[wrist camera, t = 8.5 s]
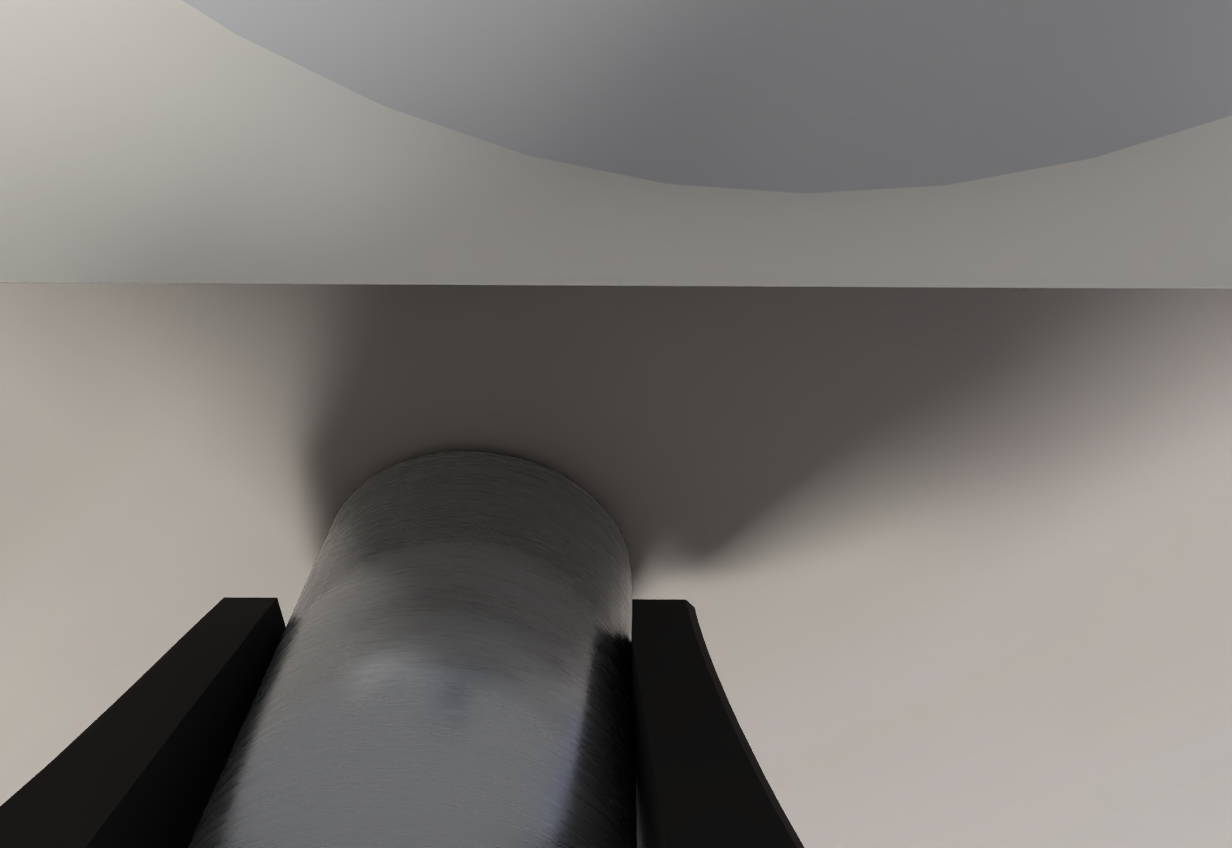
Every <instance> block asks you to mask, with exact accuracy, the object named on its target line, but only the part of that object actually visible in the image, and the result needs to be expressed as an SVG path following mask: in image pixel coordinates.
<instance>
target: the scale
mask: <svg viewBox="0 0 1232 848" xmlns="http://www.w3.org/2000/svg"><path fill="white" fill-rule="evenodd" d="M0 282H5V283H194V284H382V285H571V286H760V287H948V288H1137V289H1232V0H0Z"/></svg>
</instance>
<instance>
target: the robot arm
mask: <svg viewBox="0 0 1232 848" xmlns="http://www.w3.org/2000/svg"><path fill="white" fill-rule="evenodd" d="M285 629H286V627H285V623H284V620H283V617H282V613H281V610H280V606H279V603H278V599H277V598H223V599H222V600H221V601H220V602H219V603H218V604H217V605H216V606H215V607H214V608H213V609H211V610H210V611H209V612H208V613H207V614H206V615H205V616H204V617H203V618H202V619H201V620H200V621H199V622H198V623H197V624H196V625H195V626H193V627H192V628H191V629H190V630H189V631H188V632H187V633H186V634H185V635H184V636H183V637H182V638H181V639H180V640H179V641H178V642H177V643H176V644H175V645H174V646H173V647H172V648H171V649H170V650H169V651H168V652H167V653H166V654H164V655H163V656H162V657H161V658H160V659H159V660H158V661H157V662H156V663H155V664H154V665H153V666H152V667H151V668H150V669H149V670H148V671H147V672H146V673H145V674H144V675H143V676H142V677H141V678H140V679H139V680H138V681H137V682H136V683H134V684H133V685H132V686H131V687H130V688H129V689H128V690H127V691H126V692H125V693H124V694H123V695H122V696H121V697H120V698H119V699H118V700H117V701H116V702H115V703H114V704H113V705H111V706H110V707H109V708H108V709H107V710H106V711H105V712H104V713H103V714H102V715H101V716H100V717H99V718H98V719H97V720H95V721H94V722H93V723H92V724H91V725H90V726H89V727H88V728H87V729H86V730H85V731H84V732H83V733H82V734H80V735H79V736H78V737H77V738H76V739H75V740H74V741H73V742H72V743H71V744H70V745H69V746H68V747H67V748H66V749H64V750H63V751H62V752H61V753H60V754H59V755H58V756H57V757H56V758H55V759H54V760H53V761H51V762H50V763H49V764H48V765H47V766H46V767H45V768H44V769H43V770H42V771H40V772H39V773H38V774H37V775H36V776H35V777H34V778H32V779H31V780H30V781H29V782H28V783H27V784H26V785H24V786H23V787H22V788H21V789H20V790H19V791H18V792H16V793H15V794H14V795H13V796H12V797H11V798H10V799H8V800H7V801H6V802H5V803H4V804H3V805H1V806H0V848H188V846H189V844H190V842H191V840H192V837H193V835H194V833H195V831H196V828H197V826H198V824H199V822H200V819H201V817H202V815H203V813H204V810H205V808H206V806H207V804H208V801H209V799H210V797H211V795H212V792H213V790H214V788H215V786H216V783H217V781H218V779H219V777H220V775H221V772H222V770H223V768H224V766H225V763H226V761H227V759H228V757H229V754H230V752H231V750H232V748H233V745H234V743H235V741H236V739H237V736H238V734H239V732H240V730H241V727H242V725H243V723H244V721H245V718H246V716H247V714H248V712H249V710H250V707H251V705H252V703H253V701H254V698H255V696H256V694H257V692H258V689H259V687H260V685H261V683H262V680H263V678H264V676H265V674H266V671H267V669H268V667H269V665H270V662H271V660H272V658H273V656H274V653H275V651H276V649H277V647H278V644H279V642H280V640H281V638H282V636H283V633H284V631H285ZM631 652H632V705H633V724H634V741H635V765H636V813H637V848H804V846H803V845H802V843H801V841H800V839H799V838H798V836H797V834H796V832H795V831H794V829H793V827H792V825H791V824H790V822H789V820H788V818H787V816H786V815H785V813H784V811H783V809H782V808H781V806H780V804H779V802H778V800H777V798H776V796H775V795H774V793H773V791H772V789H771V787H770V785H769V783H768V781H767V780H766V778H765V776H764V774H763V772H762V770H761V768H760V766H759V764H758V762H757V760H756V758H755V756H754V754H753V752H752V749H751V747H750V745H749V743H748V741H747V739H746V737H745V735H744V733H743V731H742V729H741V727H740V725H739V723H738V721H737V719H736V717H735V714H734V712H733V710H732V708H731V706H730V704H729V701H728V699H727V697H726V694H725V692H724V690H723V687H722V685H721V682H720V680H719V678H718V675H717V673H716V671H715V668H714V665H713V663H712V660H711V658H710V655H709V653H708V650H707V647H706V644H705V641H704V638H703V635H702V632H701V629H700V626H699V623H698V619H697V616H696V612H695V608H694V607H693V606H692V605H691V604H690V603H689V602H688V601H687V600H643V599H632V634H631Z"/></svg>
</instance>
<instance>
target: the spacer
mask: <svg viewBox="0 0 1232 848" xmlns="http://www.w3.org/2000/svg"><path fill="white" fill-rule="evenodd" d="M631 634H632V576H631V562H630V557H629V553H628V549H627V546H626V543H625V541H624V539H623V536H622V534H621V532H620V530H619V529H618V527H617V525H616V524H615V522H614V521H613V519H612V517H611V516H610V515H609V514H608V513H607V511H606V510H605V509H604V508H603V507H602V506H601V504H600V503H599V502H598V501H596V500H595V499H594V498H593V497H592V496H591V495H590V494H589V493H588V492H586V491H585V490H584V489H582V488H581V487H580V486H578V485H577V484H575V483H574V482H572V481H571V480H569V479H568V478H566V477H564V476H562V475H560V474H558V473H556V472H555V471H553V470H551V469H548V468H546V467H543V466H541V465H538V464H536V463H533V462H530V461H527V460H523V459H520V458H516V457H512V456H508V455H502V454H496V453H490V452H475V451H456V452H442V453H436V454H430V455H424V456H420V457H417V458H413V459H410V460H406V461H403V462H401V463H398V464H396V465H394V466H391V467H389V468H387V469H385V470H383V471H381V472H380V473H378V474H376V475H375V476H373V477H371V478H370V479H368V480H367V481H366V482H365V483H363V484H362V485H361V486H360V487H359V488H357V489H356V490H355V491H354V492H353V493H352V494H351V496H350V497H349V498H348V499H347V500H346V501H345V502H344V504H343V505H342V507H341V509H340V510H339V512H338V513H337V515H336V517H335V519H334V521H333V523H332V526H331V528H330V530H329V532H328V535H327V537H326V539H325V541H324V544H323V546H322V548H321V550H320V553H319V555H318V557H317V559H316V562H315V564H314V566H313V568H312V571H311V573H310V575H309V577H308V579H307V582H306V584H305V586H304V588H303V591H302V593H301V595H300V597H299V600H298V602H297V604H296V606H295V609H294V611H293V613H292V615H291V618H290V620H289V622H288V624H287V627H286V629H285V631H284V633H283V636H282V638H281V640H280V642H279V644H278V647H277V649H276V651H275V653H274V656H273V658H272V660H271V662H270V665H269V667H268V669H267V671H266V674H265V676H264V678H263V680H262V683H261V685H260V687H259V689H258V692H257V694H256V696H255V698H254V701H253V703H252V705H251V707H250V710H249V712H248V714H247V716H246V718H245V721H244V723H243V725H242V727H241V730H240V732H239V734H238V736H237V739H236V741H235V743H234V745H233V748H232V750H231V752H230V754H229V757H228V759H227V761H226V763H225V766H224V768H223V770H222V772H221V775H220V777H219V779H218V781H217V783H216V786H215V788H214V790H213V792H212V795H211V797H210V799H209V801H208V804H207V806H206V808H205V810H204V813H203V815H202V817H201V819H200V822H199V824H198V826H197V828H196V831H195V833H194V835H193V837H192V840H191V842H190V844H189V846H188V848H637V813H636V765H635V741H634V724H633V705H632V652H631Z"/></svg>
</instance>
